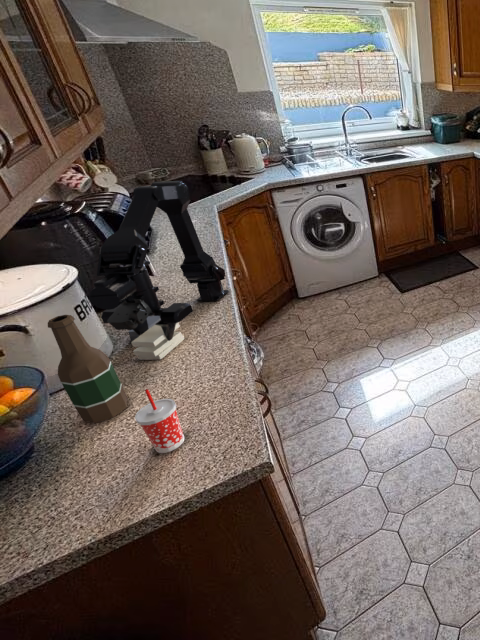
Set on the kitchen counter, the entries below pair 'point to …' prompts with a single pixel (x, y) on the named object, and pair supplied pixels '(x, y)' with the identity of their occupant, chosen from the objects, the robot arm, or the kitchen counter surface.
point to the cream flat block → (159, 348)
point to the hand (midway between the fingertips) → (159, 339)
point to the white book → (151, 337)
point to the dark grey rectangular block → (151, 322)
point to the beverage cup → (161, 424)
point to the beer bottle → (87, 374)
